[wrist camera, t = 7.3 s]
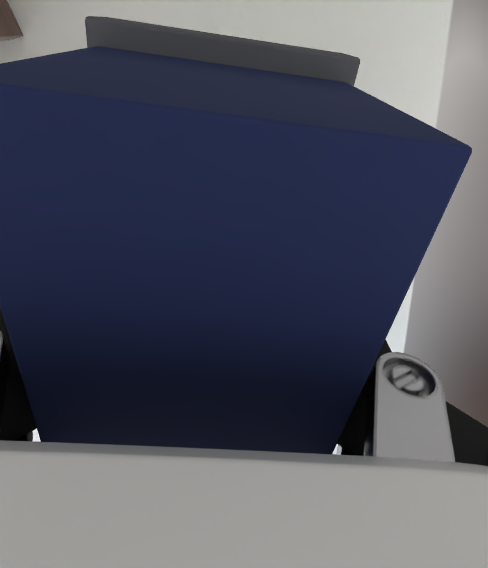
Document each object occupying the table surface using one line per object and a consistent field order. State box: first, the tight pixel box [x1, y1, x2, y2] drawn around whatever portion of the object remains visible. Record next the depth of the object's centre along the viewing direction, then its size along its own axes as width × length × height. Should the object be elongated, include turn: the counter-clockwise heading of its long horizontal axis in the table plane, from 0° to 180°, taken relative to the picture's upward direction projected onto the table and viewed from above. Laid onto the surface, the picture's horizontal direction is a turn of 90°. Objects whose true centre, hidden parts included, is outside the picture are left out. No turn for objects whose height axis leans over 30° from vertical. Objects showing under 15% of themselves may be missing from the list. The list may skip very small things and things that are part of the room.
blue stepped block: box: [0, 16, 472, 454], centre depth 11 cm, size 15×6×7 cm, turn 173°
